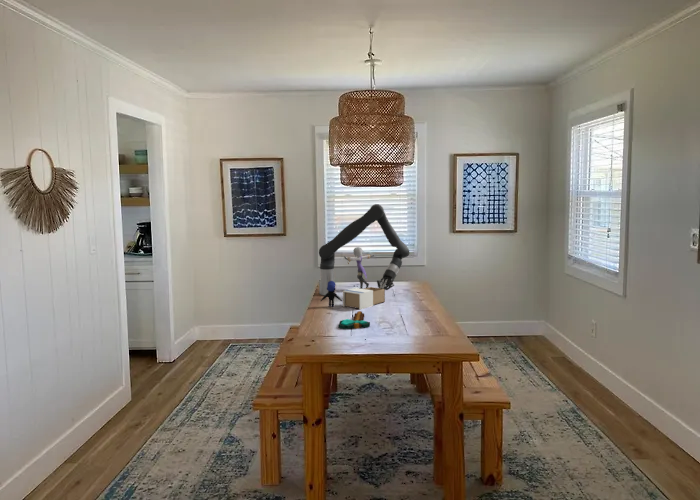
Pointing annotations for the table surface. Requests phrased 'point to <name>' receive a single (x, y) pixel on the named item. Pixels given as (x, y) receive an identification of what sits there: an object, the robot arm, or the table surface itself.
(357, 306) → the wooden drawer
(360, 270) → the figurine
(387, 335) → the table surface
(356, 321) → the toy
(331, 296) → the toy
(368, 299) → the sleeve
